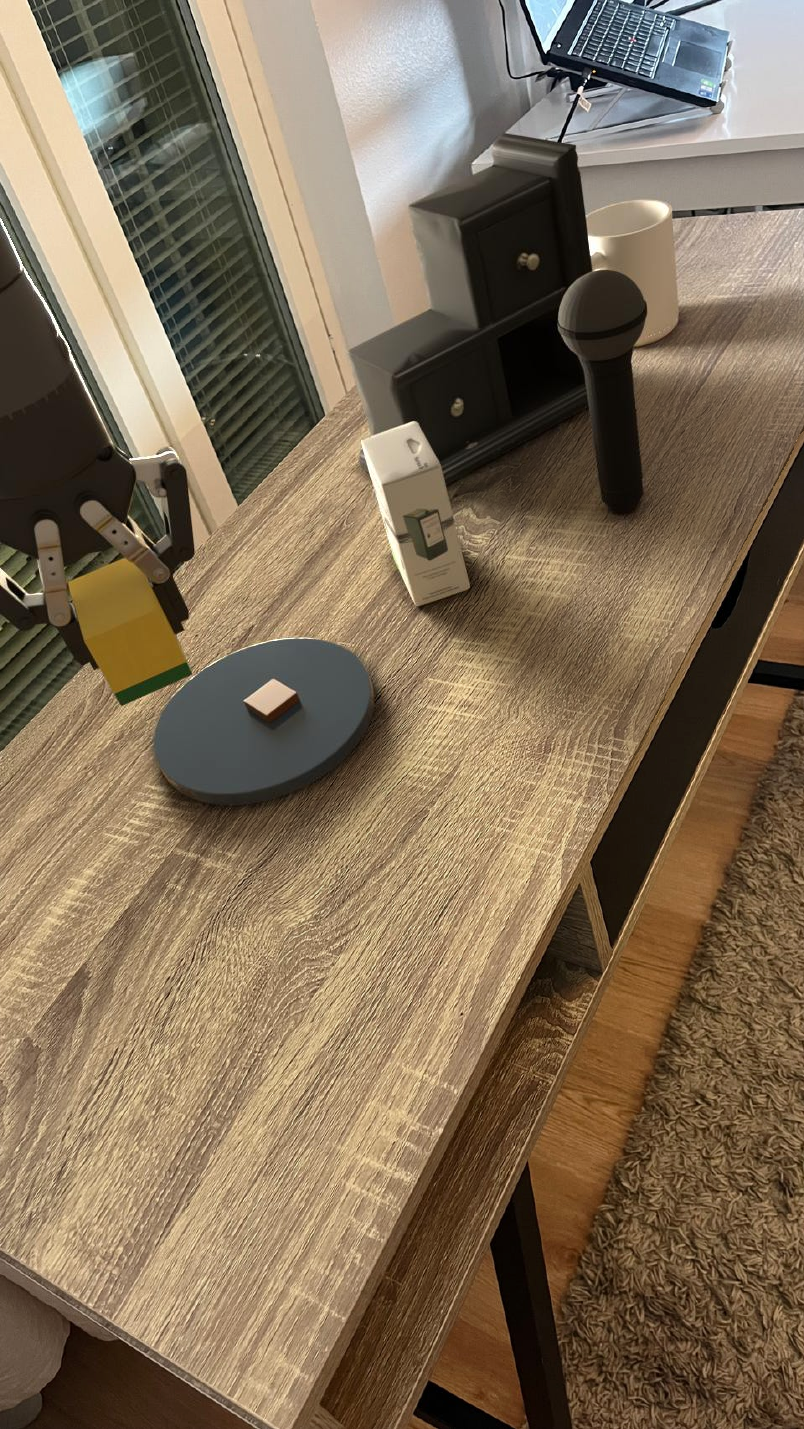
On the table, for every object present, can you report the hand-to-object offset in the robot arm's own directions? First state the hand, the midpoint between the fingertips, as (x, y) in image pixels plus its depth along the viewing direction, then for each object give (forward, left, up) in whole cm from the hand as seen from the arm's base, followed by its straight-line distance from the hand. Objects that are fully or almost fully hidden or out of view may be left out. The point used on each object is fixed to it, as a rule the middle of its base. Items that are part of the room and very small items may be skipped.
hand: (136, 642), depth 64 cm
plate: (+5, +8, -16) cm, 18 cm away
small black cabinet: (+37, +35, -16) cm, 53 cm away
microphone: (+40, +14, -16) cm, 46 cm away
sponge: (0, 0, -1) cm, 1 cm away
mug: (+58, +42, -16) cm, 74 cm away
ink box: (+23, +17, -16) cm, 33 cm away
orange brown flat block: (+6, +8, -15) cm, 18 cm away
